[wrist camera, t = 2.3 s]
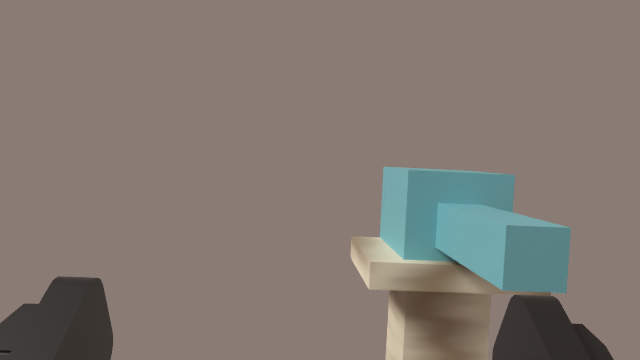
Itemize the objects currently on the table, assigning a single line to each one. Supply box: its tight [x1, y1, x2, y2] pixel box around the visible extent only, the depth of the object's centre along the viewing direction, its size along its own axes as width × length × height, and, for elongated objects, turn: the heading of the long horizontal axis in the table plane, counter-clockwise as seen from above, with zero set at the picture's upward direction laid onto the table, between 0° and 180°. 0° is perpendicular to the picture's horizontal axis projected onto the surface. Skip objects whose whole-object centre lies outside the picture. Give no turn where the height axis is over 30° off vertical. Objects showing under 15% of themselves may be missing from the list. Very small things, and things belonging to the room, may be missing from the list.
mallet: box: [380, 167, 571, 293], centre depth 29 cm, size 6×18×5 cm, turn 3°
